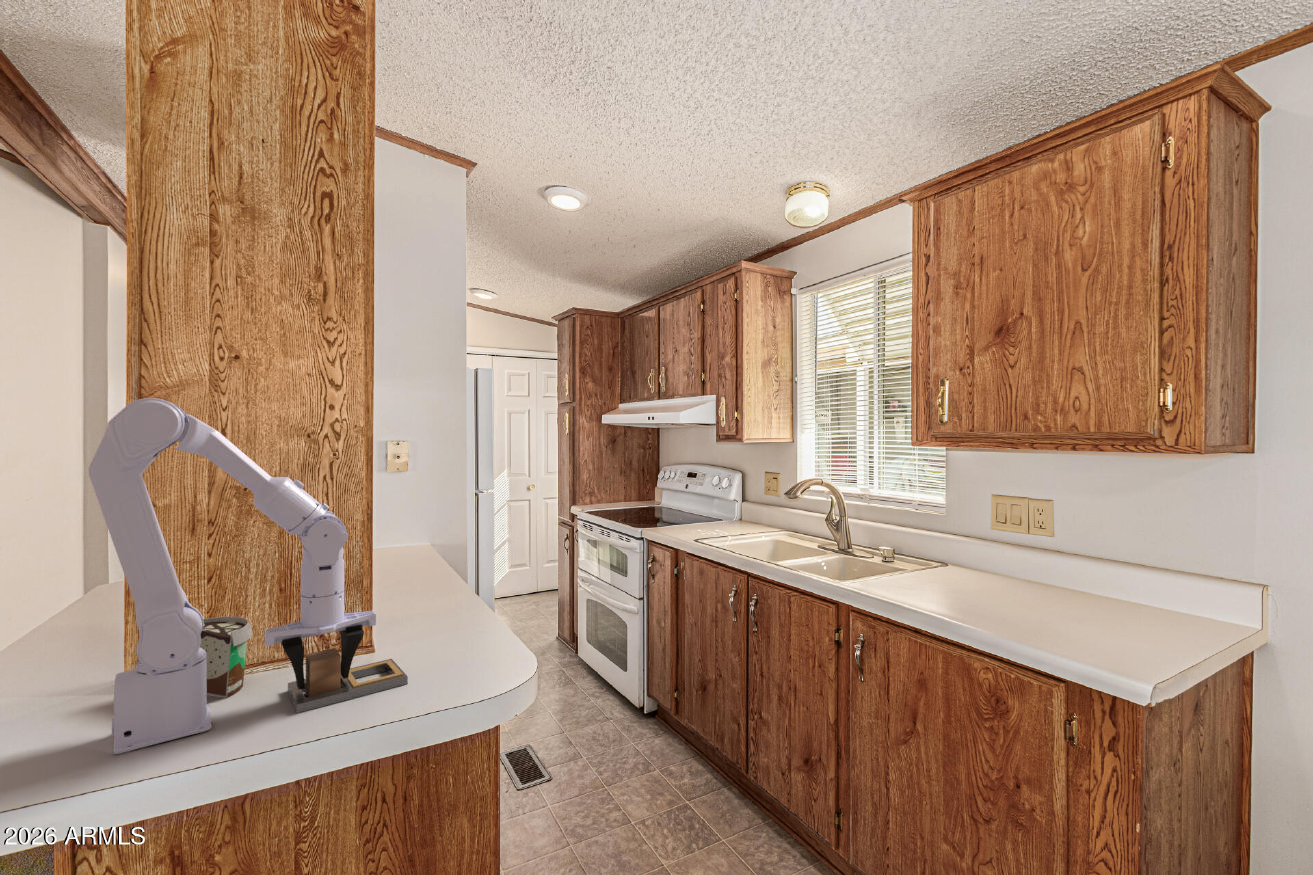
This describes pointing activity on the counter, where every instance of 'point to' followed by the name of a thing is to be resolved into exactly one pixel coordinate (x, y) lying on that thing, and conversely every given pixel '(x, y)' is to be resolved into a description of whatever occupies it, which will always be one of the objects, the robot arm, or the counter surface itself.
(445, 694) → the counter surface
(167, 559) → the robot arm
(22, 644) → the counter surface
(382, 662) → the grey slotted tray
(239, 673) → the food container
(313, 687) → the brown wooden block
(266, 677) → the counter surface
